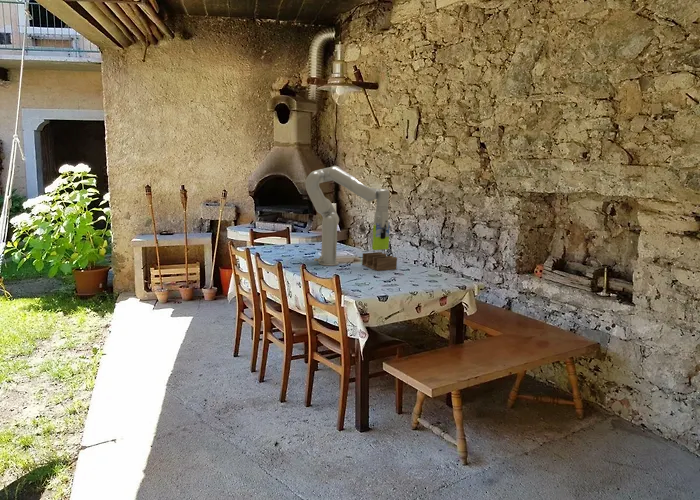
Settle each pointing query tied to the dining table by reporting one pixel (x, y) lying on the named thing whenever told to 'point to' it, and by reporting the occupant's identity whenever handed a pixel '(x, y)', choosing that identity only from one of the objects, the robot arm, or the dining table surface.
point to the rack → (379, 261)
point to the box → (377, 241)
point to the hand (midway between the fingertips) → (380, 237)
